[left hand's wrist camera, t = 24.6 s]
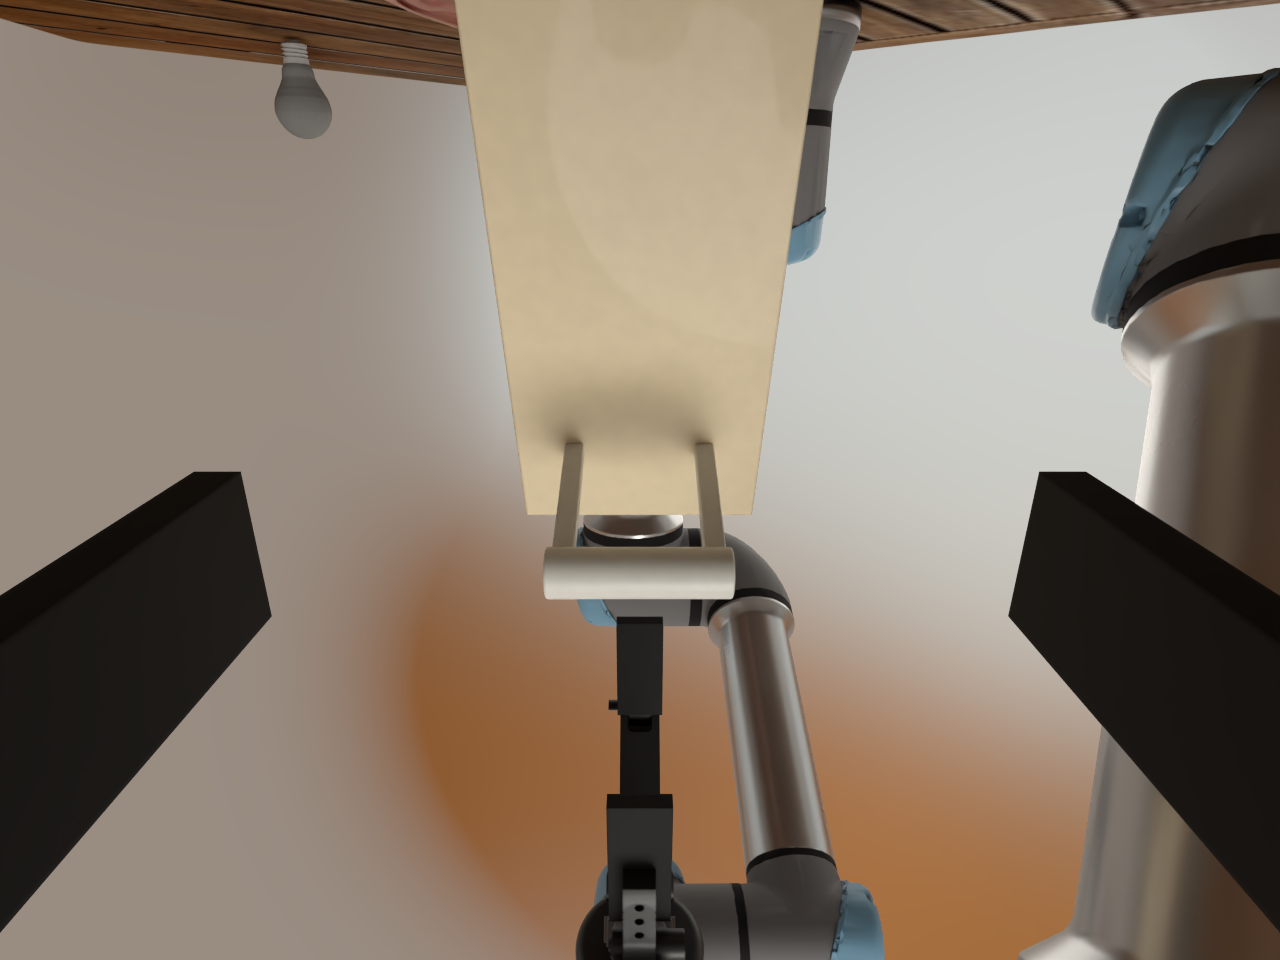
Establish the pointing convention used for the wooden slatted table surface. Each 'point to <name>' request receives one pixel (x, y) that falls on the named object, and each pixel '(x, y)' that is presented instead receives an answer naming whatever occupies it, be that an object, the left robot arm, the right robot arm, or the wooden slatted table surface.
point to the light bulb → (301, 95)
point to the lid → (639, 259)
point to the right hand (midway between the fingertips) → (639, 694)
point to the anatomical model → (431, 9)
